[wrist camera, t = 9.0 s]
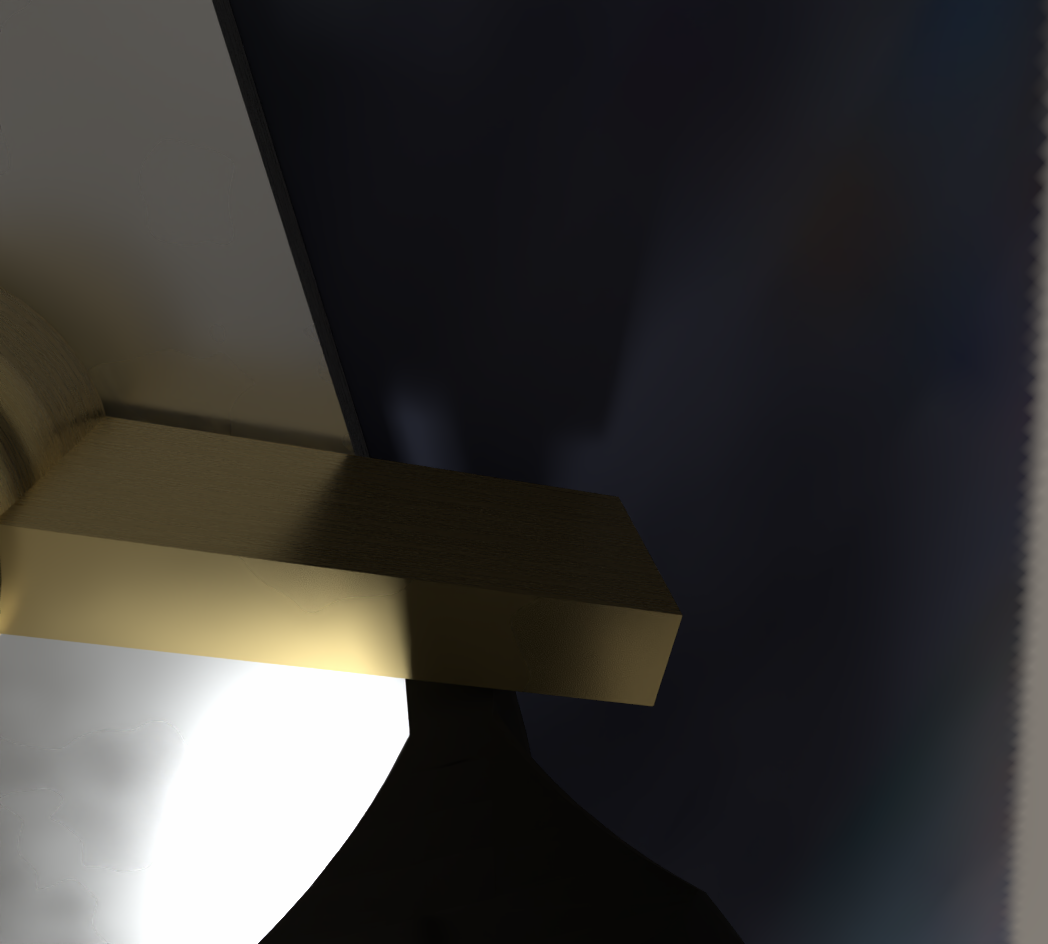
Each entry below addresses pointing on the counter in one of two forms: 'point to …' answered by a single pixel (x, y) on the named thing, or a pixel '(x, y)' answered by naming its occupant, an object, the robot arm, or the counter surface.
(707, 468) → the counter surface
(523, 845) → the robot arm
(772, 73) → the counter surface
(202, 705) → the levelling plate
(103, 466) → the knob
